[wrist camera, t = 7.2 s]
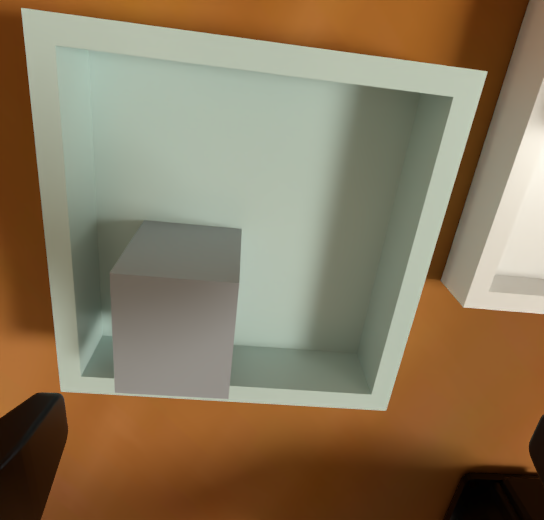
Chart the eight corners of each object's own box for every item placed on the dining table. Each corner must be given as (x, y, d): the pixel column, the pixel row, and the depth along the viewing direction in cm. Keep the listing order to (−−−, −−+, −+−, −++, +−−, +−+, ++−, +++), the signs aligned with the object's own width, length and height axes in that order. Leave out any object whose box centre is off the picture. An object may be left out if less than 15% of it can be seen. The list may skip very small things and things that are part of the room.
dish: (365, 357, 21) (386, 410, 18) (90, 338, 20) (60, 391, 17) (440, 68, 16) (487, 71, 13) (70, 18, 15) (21, 8, 11)
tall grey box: (233, 324, 19) (228, 399, 15) (144, 318, 19) (114, 392, 15) (241, 228, 17) (239, 283, 13) (144, 219, 17) (109, 273, 13)
